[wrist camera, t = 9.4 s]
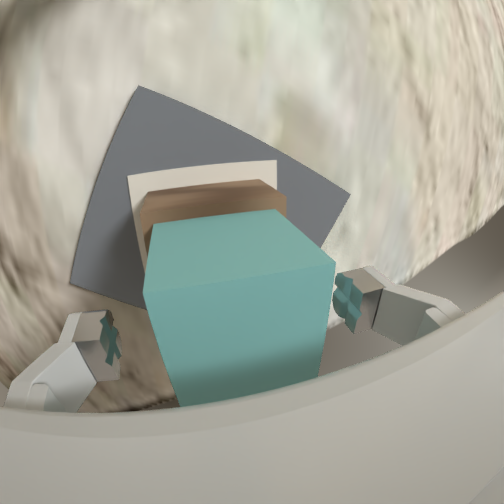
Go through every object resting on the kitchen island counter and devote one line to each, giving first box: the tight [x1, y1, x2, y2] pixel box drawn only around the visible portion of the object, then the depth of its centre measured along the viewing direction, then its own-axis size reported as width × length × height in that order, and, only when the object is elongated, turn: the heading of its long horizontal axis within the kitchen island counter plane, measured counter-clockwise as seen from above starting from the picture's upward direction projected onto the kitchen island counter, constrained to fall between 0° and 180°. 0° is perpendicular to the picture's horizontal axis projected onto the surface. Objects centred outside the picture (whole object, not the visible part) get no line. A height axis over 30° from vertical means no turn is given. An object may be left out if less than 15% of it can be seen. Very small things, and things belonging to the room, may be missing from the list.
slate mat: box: [70, 85, 350, 310], centre depth 16 cm, size 14×12×1 cm
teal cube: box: [143, 209, 336, 407], centre depth 10 cm, size 5×5×5 cm
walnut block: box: [140, 179, 287, 257], centre depth 14 cm, size 6×6×4 cm
